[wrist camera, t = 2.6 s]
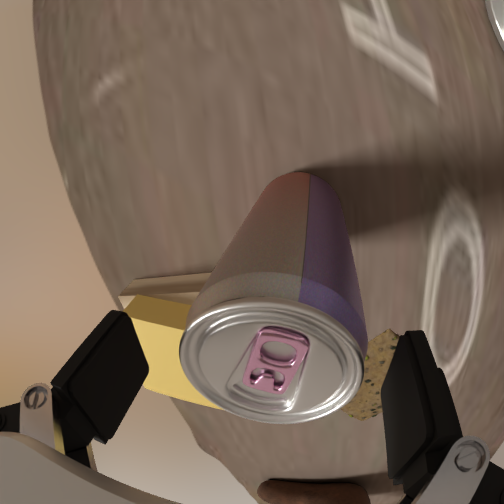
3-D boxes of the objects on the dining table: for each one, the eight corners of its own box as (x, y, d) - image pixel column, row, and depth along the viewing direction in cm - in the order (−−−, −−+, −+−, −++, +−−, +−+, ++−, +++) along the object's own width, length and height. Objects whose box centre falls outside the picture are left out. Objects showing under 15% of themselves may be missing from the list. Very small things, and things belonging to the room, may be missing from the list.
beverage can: (351, 184, 19) (410, 332, 6) (326, 256, 22) (323, 438, 9) (269, 160, 20) (176, 266, 7) (252, 235, 23) (171, 397, 10)
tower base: (133, 279, 27) (118, 296, 25) (248, 268, 24) (239, 288, 22) (176, 364, 32) (166, 382, 30) (275, 367, 29) (270, 389, 26)
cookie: (388, 322, 24) (390, 329, 24) (441, 375, 26) (442, 381, 25) (298, 380, 30) (297, 386, 29) (361, 418, 32) (361, 424, 31)
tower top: (137, 294, 24) (119, 314, 22) (249, 314, 22) (240, 341, 20) (156, 368, 29) (145, 388, 26) (246, 389, 27) (240, 413, 24)
